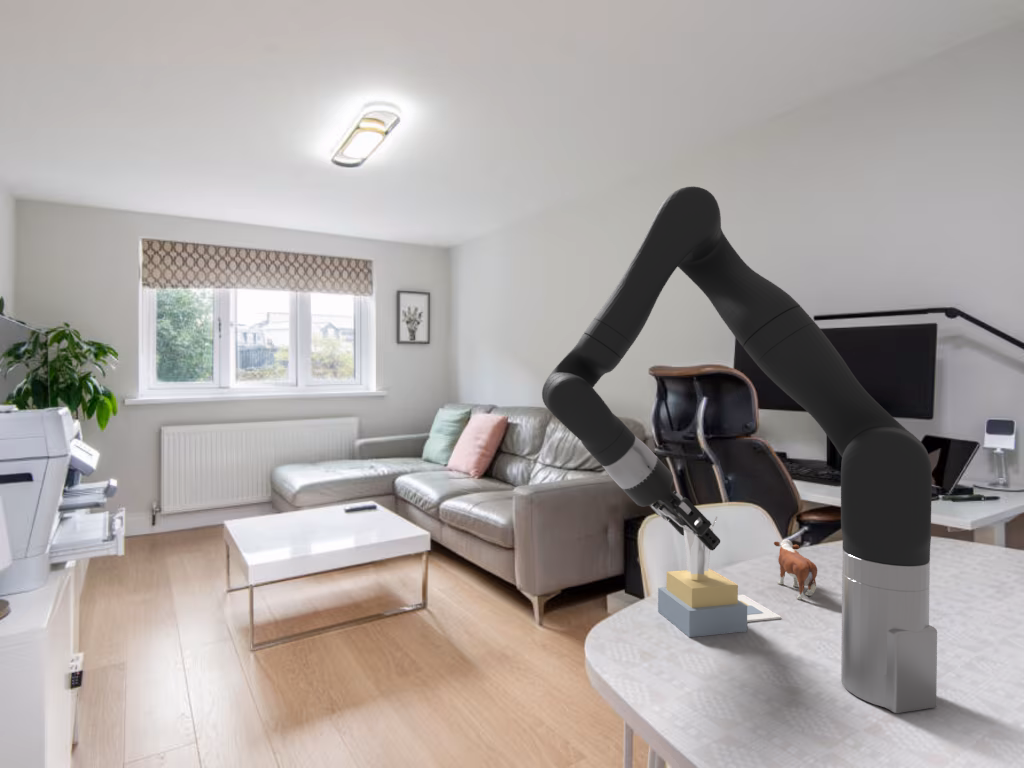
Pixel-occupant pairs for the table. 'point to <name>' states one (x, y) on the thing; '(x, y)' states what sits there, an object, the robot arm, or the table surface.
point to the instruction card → (757, 610)
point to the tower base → (702, 616)
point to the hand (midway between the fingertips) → (700, 538)
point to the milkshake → (696, 555)
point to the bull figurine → (796, 568)
